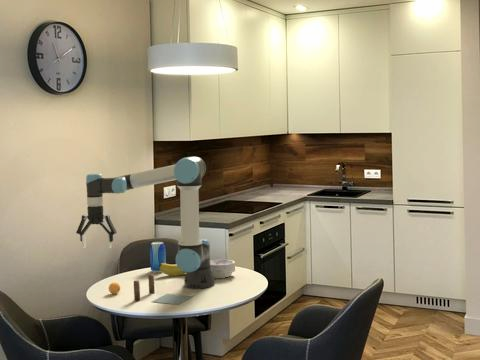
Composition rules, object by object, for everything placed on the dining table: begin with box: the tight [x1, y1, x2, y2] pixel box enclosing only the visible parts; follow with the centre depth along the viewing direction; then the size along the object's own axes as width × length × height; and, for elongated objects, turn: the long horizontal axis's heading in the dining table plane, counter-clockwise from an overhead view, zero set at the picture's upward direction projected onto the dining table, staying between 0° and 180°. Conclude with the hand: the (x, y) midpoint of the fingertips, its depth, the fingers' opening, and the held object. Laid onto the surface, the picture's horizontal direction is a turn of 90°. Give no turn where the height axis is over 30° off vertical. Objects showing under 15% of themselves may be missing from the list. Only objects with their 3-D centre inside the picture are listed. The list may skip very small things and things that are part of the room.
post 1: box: [133, 279, 141, 302], centre depth 277 cm, size 3×3×9 cm
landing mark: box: [151, 293, 194, 306], centre depth 277 cm, size 14×14×1 cm
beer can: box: [149, 241, 167, 274], centre depth 333 cm, size 8×8×16 cm
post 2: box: [147, 273, 156, 295], centre depth 288 cm, size 3×3×9 cm
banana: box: [159, 263, 187, 277], centre depth 323 cm, size 23×6×20 cm, turn 106°
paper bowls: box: [210, 259, 236, 279], centre depth 317 cm, size 15×15×8 cm
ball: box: [108, 282, 121, 295], centre depth 289 cm, size 6×6×6 cm
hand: (97, 248), depth 296 cm, fingers open, 13 cm apart
